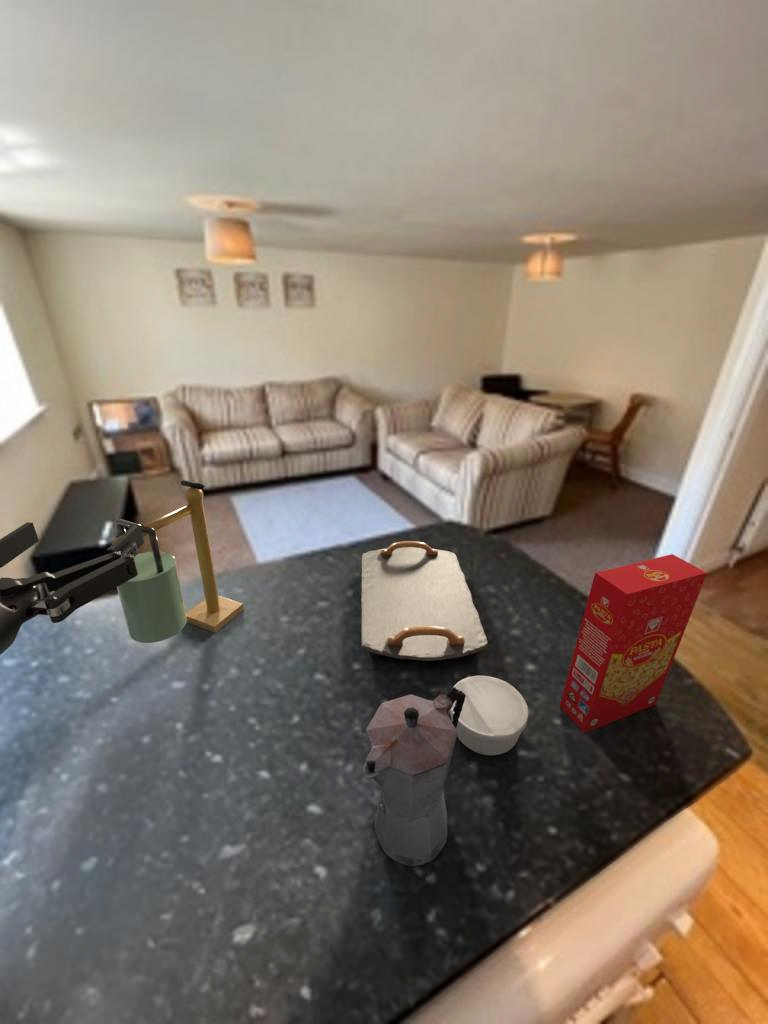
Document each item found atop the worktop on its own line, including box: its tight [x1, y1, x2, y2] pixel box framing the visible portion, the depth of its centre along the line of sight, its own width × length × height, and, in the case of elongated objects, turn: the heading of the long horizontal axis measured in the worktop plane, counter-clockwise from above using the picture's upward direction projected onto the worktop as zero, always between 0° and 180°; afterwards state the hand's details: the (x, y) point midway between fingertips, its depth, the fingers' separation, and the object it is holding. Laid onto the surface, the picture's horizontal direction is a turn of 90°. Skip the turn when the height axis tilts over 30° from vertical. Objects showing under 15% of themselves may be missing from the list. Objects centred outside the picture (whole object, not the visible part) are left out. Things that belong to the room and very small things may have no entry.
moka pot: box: [362, 686, 466, 867], centre depth 50 cm, size 10×15×20 cm, turn 137°
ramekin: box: [448, 675, 529, 756], centre depth 66 cm, size 11×11×5 cm
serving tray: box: [360, 540, 489, 662], centre depth 93 cm, size 39×23×6 cm, turn 2°
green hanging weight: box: [115, 518, 188, 644], centre depth 73 cm, size 9×9×20 cm
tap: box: [111, 479, 245, 634], centre depth 78 cm, size 8×20×28 cm, turn 156°
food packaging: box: [559, 553, 708, 733], centre depth 66 cm, size 15×5×25 cm, turn 112°
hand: (86, 532), depth 58 cm, fingers open, 13 cm apart
